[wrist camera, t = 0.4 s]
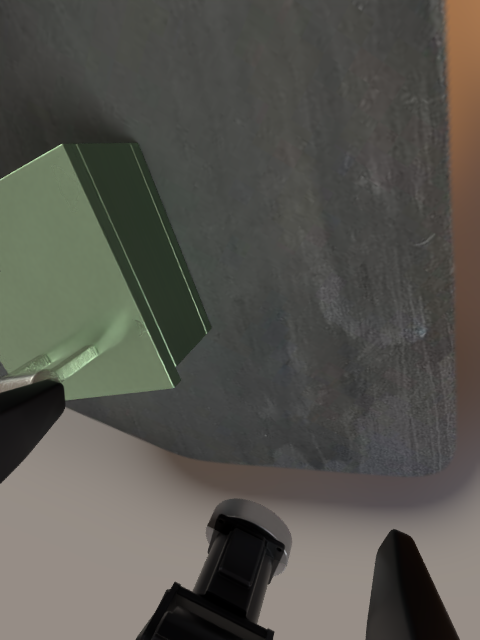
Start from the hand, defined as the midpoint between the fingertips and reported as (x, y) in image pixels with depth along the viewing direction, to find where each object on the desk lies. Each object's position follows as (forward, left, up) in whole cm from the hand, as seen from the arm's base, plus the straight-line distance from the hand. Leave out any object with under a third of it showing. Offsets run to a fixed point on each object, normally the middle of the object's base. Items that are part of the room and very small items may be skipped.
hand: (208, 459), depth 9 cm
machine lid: (-4, +13, -8) cm, 16 cm away
